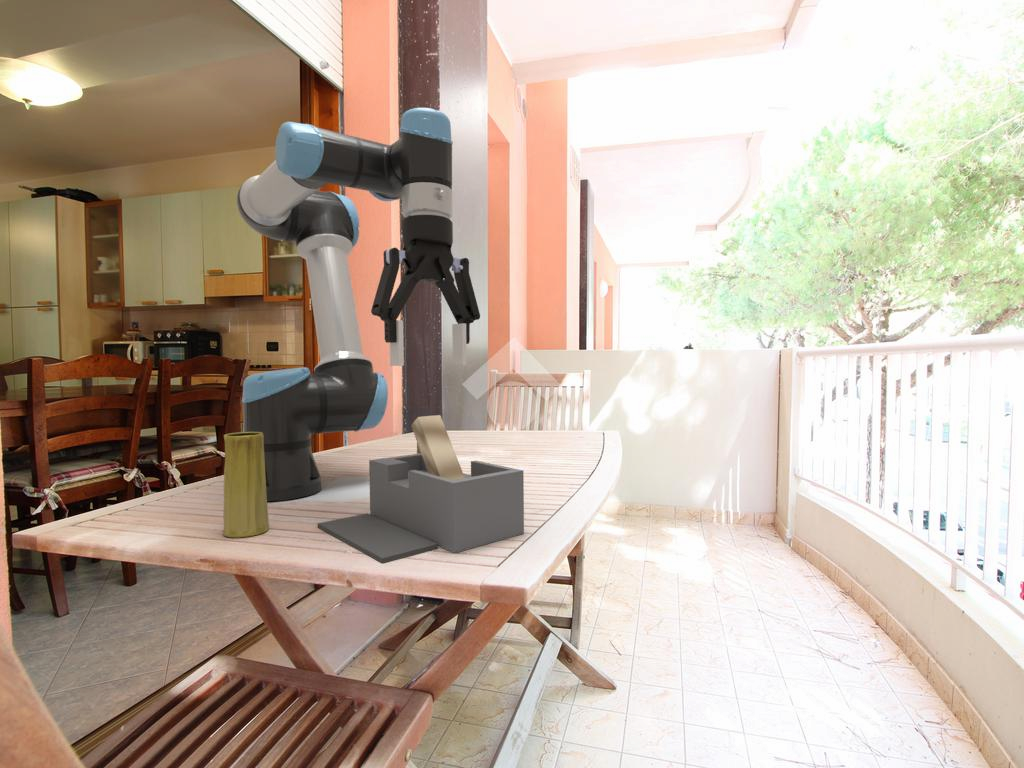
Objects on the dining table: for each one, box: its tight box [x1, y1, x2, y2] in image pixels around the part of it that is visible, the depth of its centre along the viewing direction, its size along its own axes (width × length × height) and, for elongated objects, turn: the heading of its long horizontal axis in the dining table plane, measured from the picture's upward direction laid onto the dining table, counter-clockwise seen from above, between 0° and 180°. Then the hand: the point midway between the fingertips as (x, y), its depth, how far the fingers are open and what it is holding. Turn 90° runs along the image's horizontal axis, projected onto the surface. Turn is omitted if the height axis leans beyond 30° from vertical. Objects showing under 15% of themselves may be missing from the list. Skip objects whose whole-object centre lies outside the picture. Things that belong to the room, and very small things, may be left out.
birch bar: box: [410, 414, 465, 480], centre depth 83 cm, size 18×4×2 cm
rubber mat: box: [317, 512, 439, 564], centre depth 78 cm, size 20×8×1 cm, turn 41°
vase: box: [222, 431, 270, 539], centre depth 81 cm, size 6×6×14 cm
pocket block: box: [368, 453, 525, 554], centre depth 83 cm, size 23×12×9 cm, turn 41°
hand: (429, 365), depth 85 cm, fingers open, 10 cm apart
